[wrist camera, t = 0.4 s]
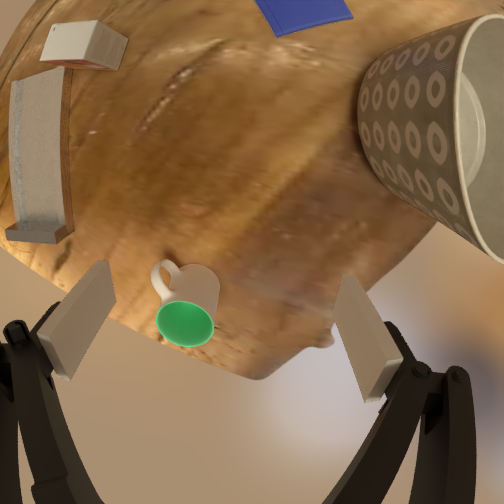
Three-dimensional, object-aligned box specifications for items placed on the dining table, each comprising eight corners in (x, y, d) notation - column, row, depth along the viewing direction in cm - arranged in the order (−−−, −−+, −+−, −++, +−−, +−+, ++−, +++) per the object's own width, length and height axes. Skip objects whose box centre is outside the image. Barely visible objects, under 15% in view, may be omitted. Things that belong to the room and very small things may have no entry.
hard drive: (328, -24, 25) (251, -6, 27) (354, 17, 28) (276, 37, 30) (326, -20, 26) (251, -2, 28) (350, 20, 29) (275, 40, 31)
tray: (20, 82, 30) (-1, 81, 24) (73, 66, 30) (52, 61, 25) (25, 228, 41) (6, 240, 36) (74, 230, 42) (56, 244, 36)
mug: (146, 263, 45) (124, 298, 35) (181, 235, 43) (163, 267, 33) (194, 312, 49) (183, 354, 39) (229, 290, 47) (226, 331, 37)
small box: (77, 69, 31) (37, 61, 21) (88, 38, 28) (51, 23, 19) (118, 72, 32) (82, 60, 22) (130, 38, 30) (98, 18, 20)
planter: (353, 206, 41) (443, 290, 19) (334, 43, 31) (422, -24, 9) (470, 195, 40) (565, 248, 18) (462, 61, 29) (565, 56, 8)
